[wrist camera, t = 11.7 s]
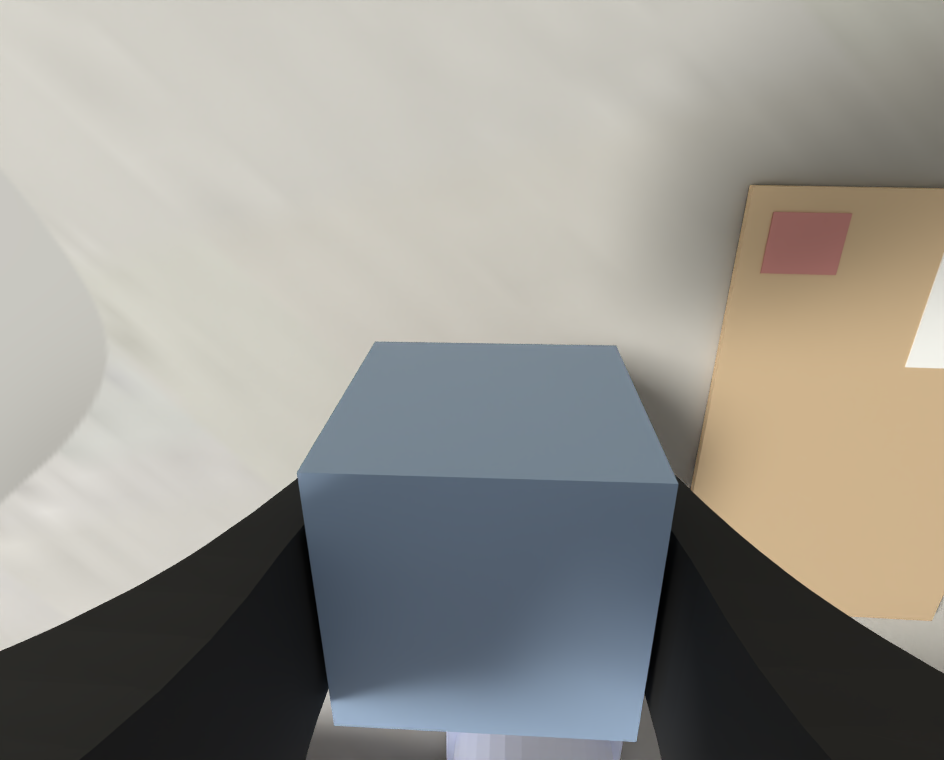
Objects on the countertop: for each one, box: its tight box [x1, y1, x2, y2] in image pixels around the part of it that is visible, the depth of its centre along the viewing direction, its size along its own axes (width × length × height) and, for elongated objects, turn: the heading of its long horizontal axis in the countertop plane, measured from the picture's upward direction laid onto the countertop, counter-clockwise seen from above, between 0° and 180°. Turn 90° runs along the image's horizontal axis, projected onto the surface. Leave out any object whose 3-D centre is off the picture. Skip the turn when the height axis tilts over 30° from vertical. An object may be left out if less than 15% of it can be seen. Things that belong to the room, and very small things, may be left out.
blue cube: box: [297, 342, 678, 742], centre depth 10 cm, size 4×4×4 cm
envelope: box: [690, 185, 944, 621], centre depth 20 cm, size 16×10×1 cm, turn 179°
